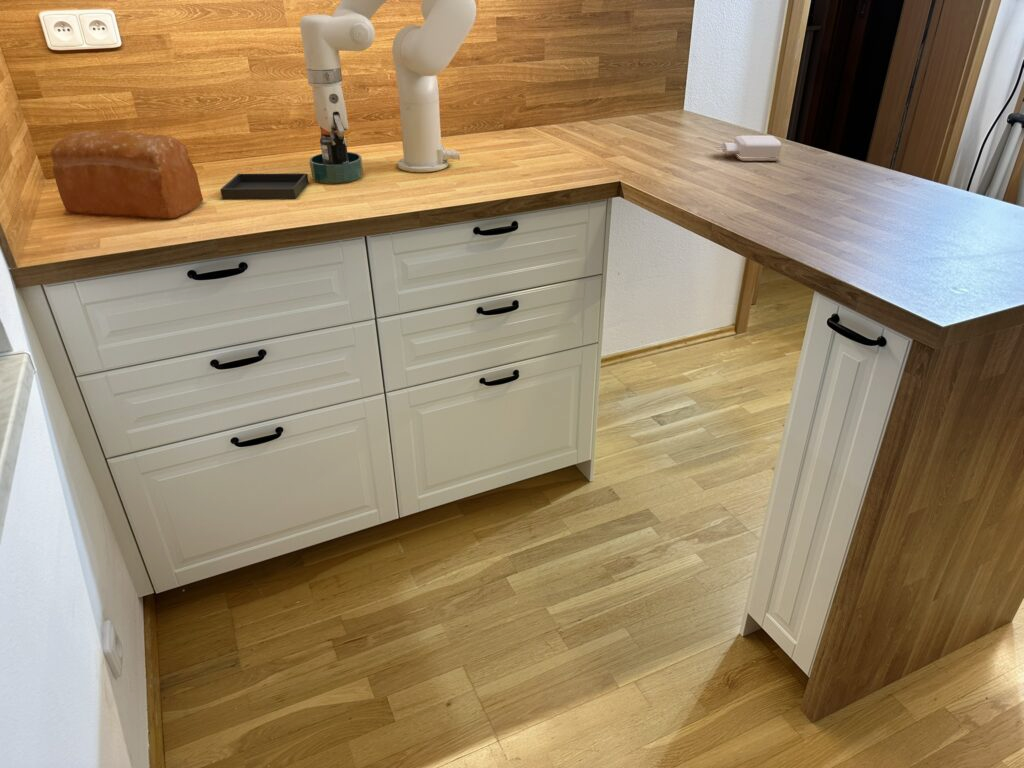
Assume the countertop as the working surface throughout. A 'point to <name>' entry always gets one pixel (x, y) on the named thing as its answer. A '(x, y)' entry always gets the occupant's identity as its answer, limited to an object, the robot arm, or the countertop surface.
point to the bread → (125, 174)
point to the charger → (753, 148)
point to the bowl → (336, 169)
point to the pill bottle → (329, 148)
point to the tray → (265, 186)
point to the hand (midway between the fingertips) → (335, 157)
